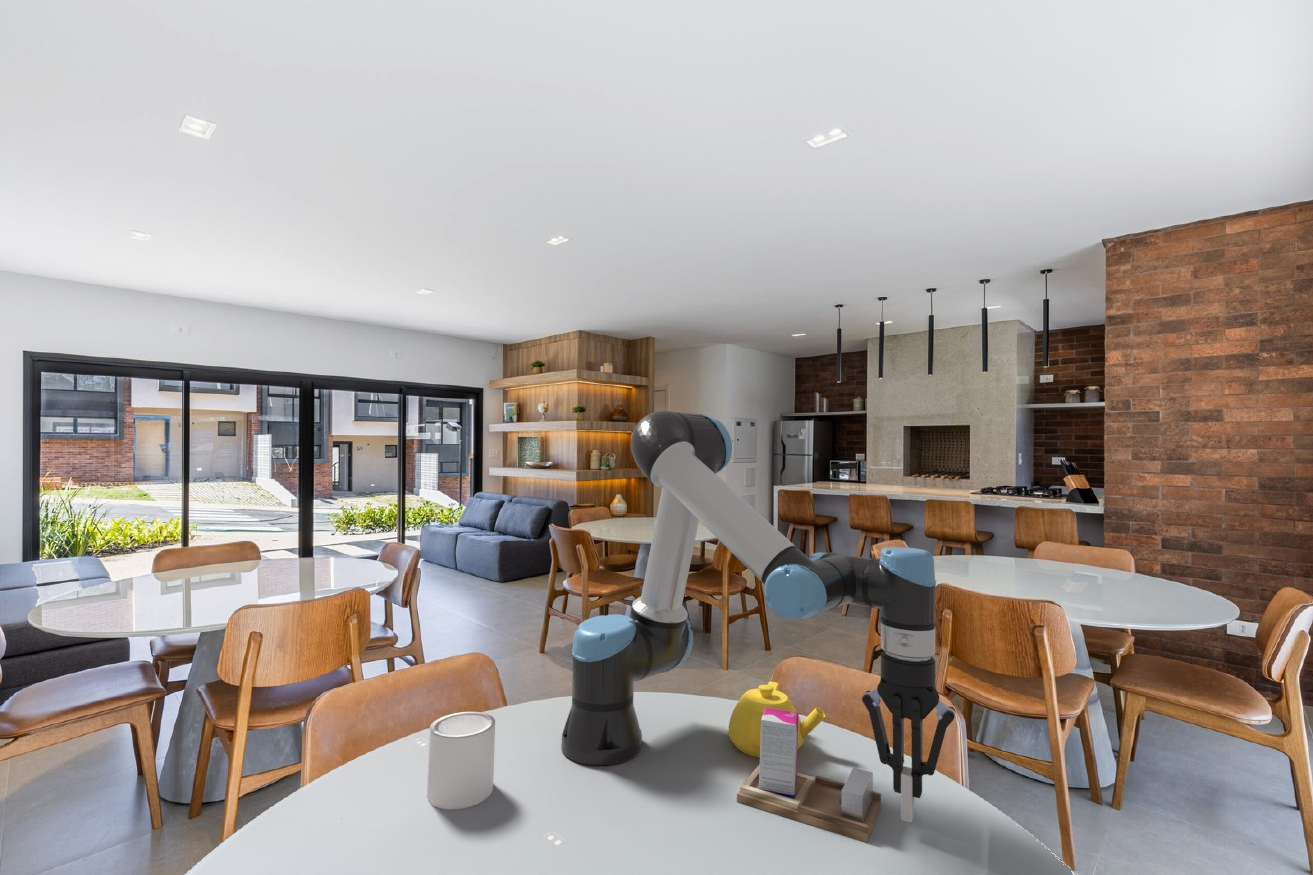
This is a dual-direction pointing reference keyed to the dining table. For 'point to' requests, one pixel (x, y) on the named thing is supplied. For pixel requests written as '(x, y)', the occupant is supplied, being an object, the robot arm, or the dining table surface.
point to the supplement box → (778, 752)
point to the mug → (461, 760)
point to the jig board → (811, 804)
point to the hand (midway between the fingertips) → (907, 816)
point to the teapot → (751, 711)
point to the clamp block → (857, 795)
